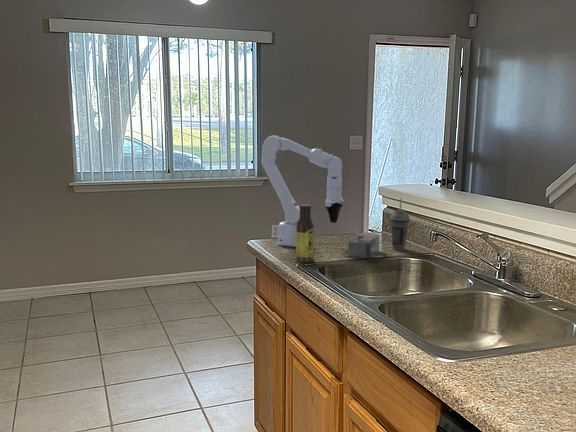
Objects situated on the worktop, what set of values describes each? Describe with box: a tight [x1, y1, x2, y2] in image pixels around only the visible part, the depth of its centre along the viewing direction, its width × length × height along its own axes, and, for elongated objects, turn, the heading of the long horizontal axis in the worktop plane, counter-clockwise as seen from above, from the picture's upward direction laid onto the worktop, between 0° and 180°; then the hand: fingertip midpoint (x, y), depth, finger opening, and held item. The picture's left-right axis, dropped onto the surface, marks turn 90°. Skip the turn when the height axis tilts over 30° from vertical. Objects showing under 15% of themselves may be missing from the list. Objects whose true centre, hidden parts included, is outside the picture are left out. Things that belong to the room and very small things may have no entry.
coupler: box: [347, 233, 381, 260], centre depth 207 cm, size 8×13×6 cm, turn 156°
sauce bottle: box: [295, 204, 315, 263], centre depth 195 cm, size 7×6×20 cm
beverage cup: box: [389, 198, 410, 252], centre depth 214 cm, size 7×7×20 cm
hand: (333, 222), depth 219 cm, fingers closed
